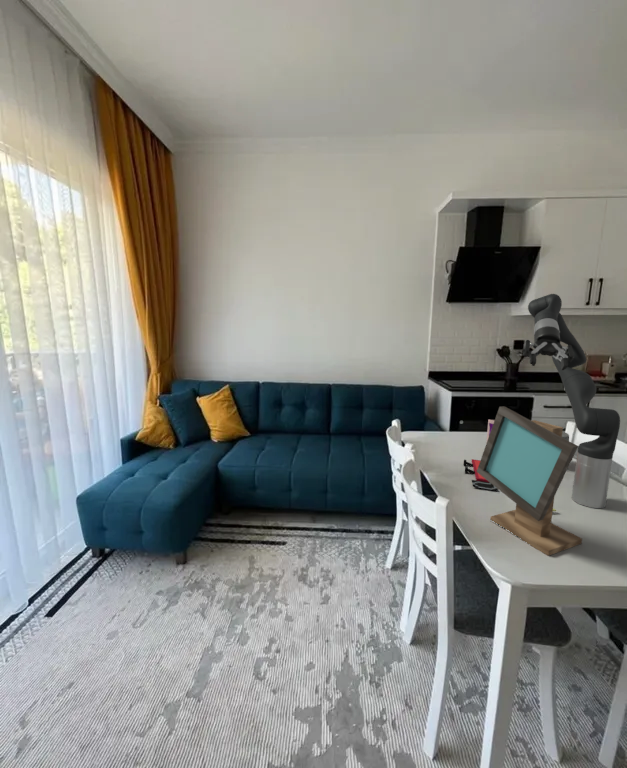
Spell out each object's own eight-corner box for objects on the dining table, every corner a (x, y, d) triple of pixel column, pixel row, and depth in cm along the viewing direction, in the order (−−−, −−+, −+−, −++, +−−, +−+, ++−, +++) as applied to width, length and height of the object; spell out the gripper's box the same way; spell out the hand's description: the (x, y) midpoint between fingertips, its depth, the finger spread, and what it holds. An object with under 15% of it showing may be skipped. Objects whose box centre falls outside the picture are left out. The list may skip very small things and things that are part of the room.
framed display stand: (521, 512, 112) (531, 414, 107) (581, 543, 96) (597, 430, 90) (490, 520, 107) (499, 418, 101) (548, 555, 90) (563, 436, 85)
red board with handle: (467, 487, 129) (512, 495, 124) (468, 480, 129) (513, 488, 124) (462, 460, 157) (499, 466, 152) (463, 455, 157) (499, 460, 152)
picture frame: (481, 470, 113) (504, 406, 103) (543, 519, 94) (578, 446, 85) (476, 471, 112) (499, 406, 102) (538, 521, 93) (573, 447, 84)
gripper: (565, 344, 122) (569, 377, 113) (520, 338, 127) (520, 370, 118) (574, 328, 117) (579, 361, 107) (527, 323, 121) (528, 355, 112)
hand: (548, 366), depth 113 cm, fingers open, 8 cm apart
